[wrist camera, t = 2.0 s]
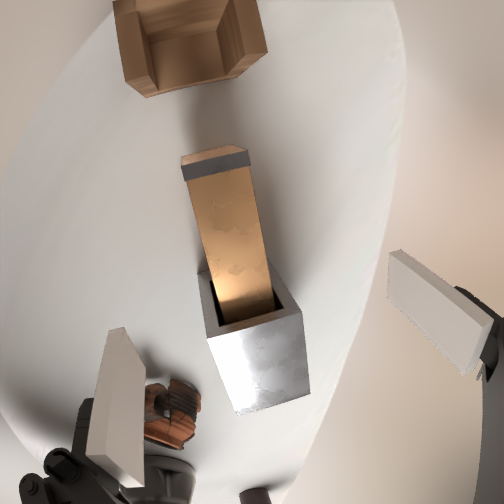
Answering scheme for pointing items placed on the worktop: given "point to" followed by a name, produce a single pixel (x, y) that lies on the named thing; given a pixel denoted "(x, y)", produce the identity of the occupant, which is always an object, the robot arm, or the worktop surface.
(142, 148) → the worktop surface
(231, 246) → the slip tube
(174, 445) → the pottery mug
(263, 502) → the bottle
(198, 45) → the brown wooden box
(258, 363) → the sleeve
